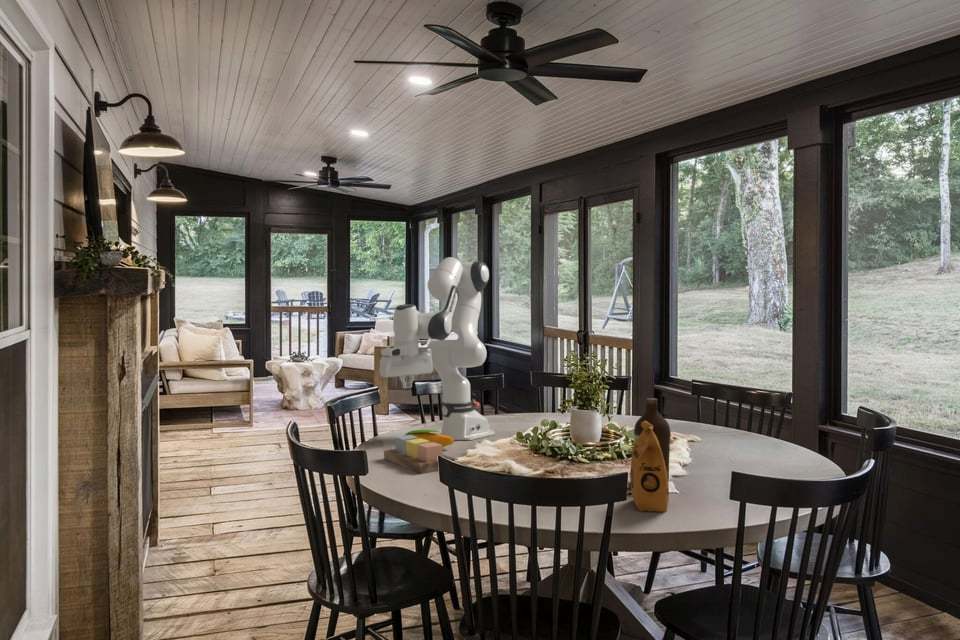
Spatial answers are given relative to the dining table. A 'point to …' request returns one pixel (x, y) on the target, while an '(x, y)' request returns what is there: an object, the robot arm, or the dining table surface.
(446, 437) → the corn
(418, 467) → the button board
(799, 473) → the dining table surface
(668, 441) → the olive oil
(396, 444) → the pad slate
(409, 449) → the pad mustard
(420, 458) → the pad terracotta
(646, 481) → the coffee package
